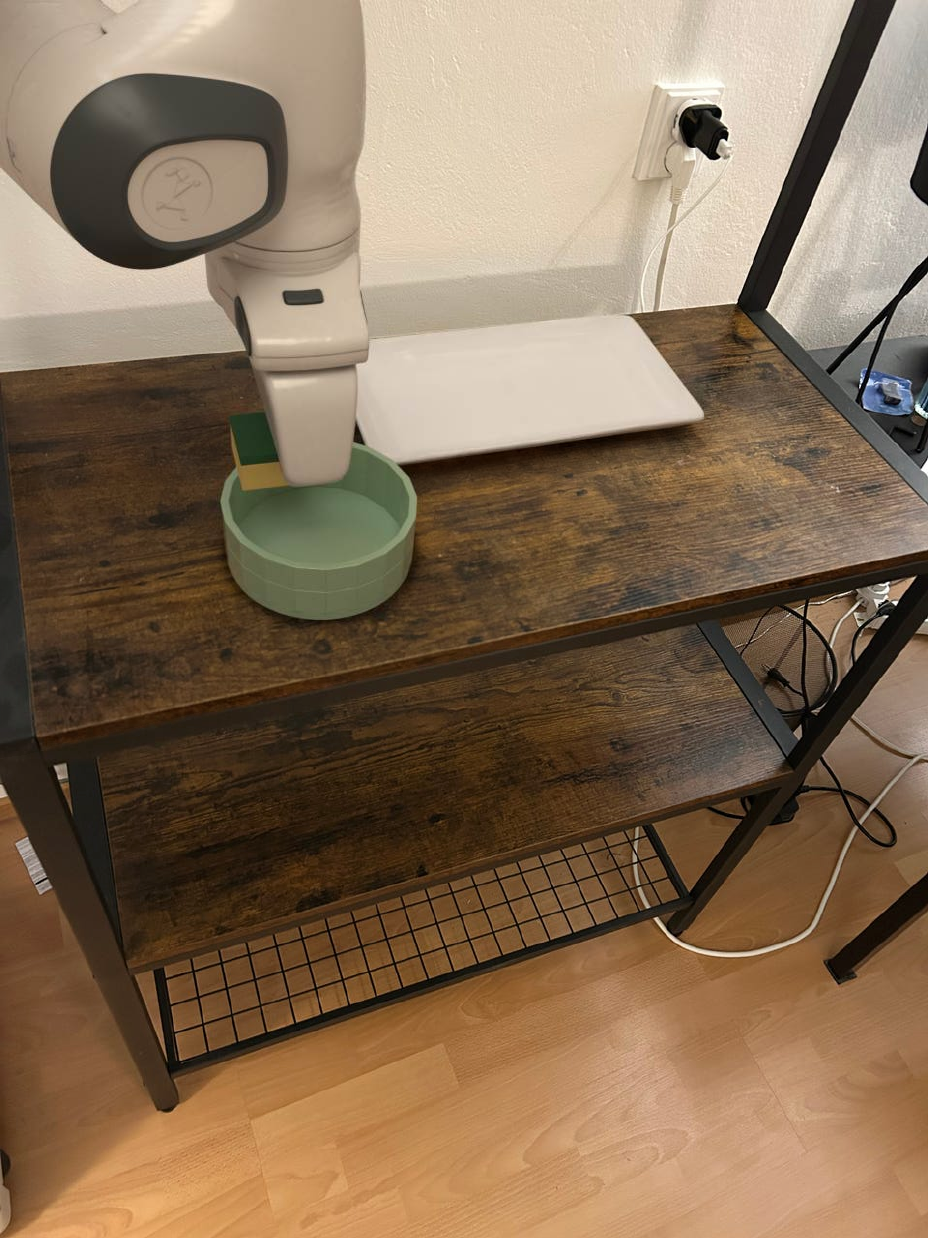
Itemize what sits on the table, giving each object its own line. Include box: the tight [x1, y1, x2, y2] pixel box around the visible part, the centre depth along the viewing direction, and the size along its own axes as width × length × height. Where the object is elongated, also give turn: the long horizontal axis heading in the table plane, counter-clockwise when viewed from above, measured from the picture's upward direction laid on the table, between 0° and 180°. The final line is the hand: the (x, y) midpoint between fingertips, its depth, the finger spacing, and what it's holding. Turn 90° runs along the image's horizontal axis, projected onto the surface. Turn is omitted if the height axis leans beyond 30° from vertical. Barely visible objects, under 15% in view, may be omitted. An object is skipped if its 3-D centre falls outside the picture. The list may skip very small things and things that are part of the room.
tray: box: [355, 314, 705, 466], centre depth 89 cm, size 17×32×4 cm, turn 110°
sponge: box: [229, 411, 343, 491], centre depth 67 cm, size 7×4×3 cm, turn 108°
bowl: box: [219, 441, 418, 621], centre depth 73 cm, size 14×14×6 cm
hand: (286, 446), depth 67 cm, fingers closed on sponge, 4 cm apart
